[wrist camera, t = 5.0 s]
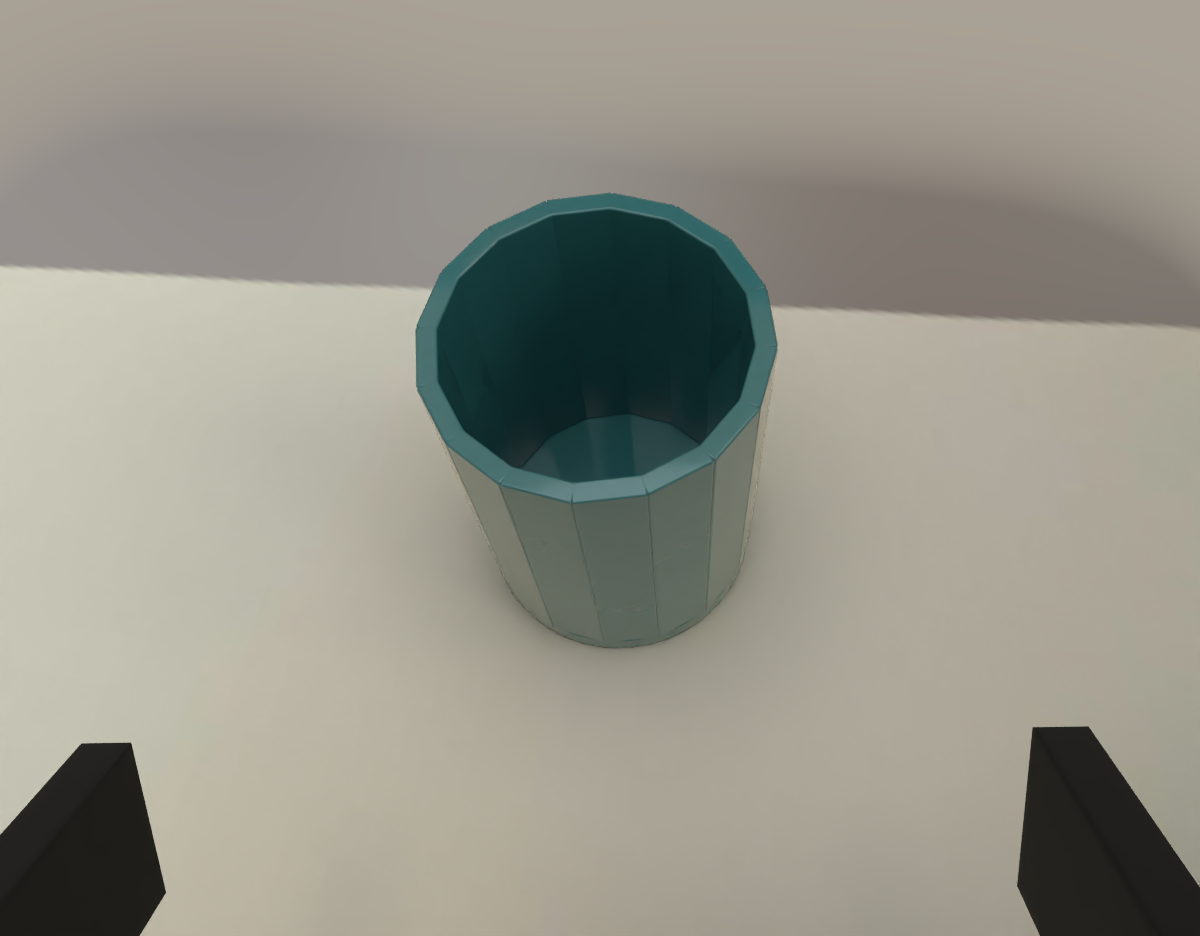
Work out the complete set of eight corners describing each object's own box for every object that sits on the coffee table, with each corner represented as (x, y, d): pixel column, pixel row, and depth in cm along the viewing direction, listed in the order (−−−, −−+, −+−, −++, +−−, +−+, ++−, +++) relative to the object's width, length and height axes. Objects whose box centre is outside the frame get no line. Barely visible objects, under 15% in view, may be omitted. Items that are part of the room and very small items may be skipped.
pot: (774, 446, 34) (810, 231, 24) (710, 680, 31) (722, 543, 21) (541, 390, 36) (487, 166, 26) (458, 607, 32) (359, 448, 23)
